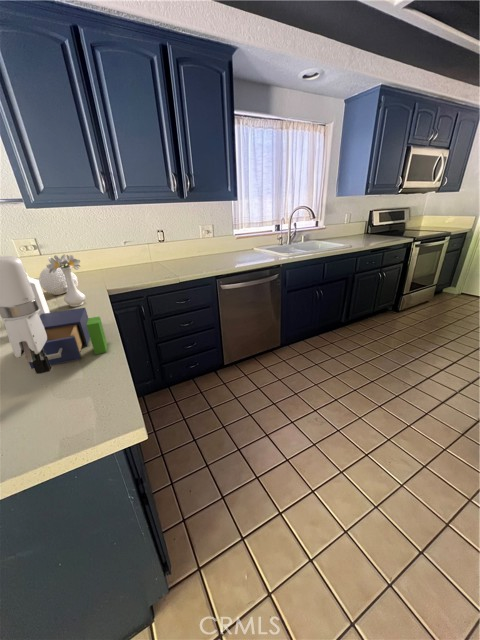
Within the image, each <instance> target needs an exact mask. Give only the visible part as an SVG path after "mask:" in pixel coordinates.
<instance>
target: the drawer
mask: <svg viewBox="0 0 480 640" xmlns="http://www.w3.org/2000/svg"><path fill="white" fill-rule="evenodd" d="M45 331H46V334H47V341H46V343H45V344H44V347H45V351H46V356H47V357H48V360H49V363H50V365H51V366H54V365H58V364H64V363H69V362H73V361H78V360H79V361H80V360H82V355H81V350H82V348H83V347H82V344H83V338H82V335H81V332H80V328H79V325H78V324H75V325H69V326H63V327H57V328H51V329H45ZM28 364H29V367H30V369H31V370H35V369H34V367H33V365H32V362H28Z"/></svg>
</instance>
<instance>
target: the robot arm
mask: <svg viewBox="0 0 480 640" xmlns="http://www.w3.org/2000/svg"><path fill="white" fill-rule="evenodd" d="M26 273H27V272H26V269H25V266H24V264H23V261H22V260H21V259H20V258H19V257H18V256H13V255H3V256H2V255H0V318H1V320H2V321H3V322H4V327H5V330H6V334H7V338H8V341H9V343H10V346H11V349H12V352H13V354H14V356H15V358H17V359H19V358H21V357H22V356H23V355H24V357H25V360H26V362H27V363H29V362H32V365H33V367H34V369H33V370H34V372H35V374H36V375H40V374H44V373H49V372H51V369H52V365H50V363H49V360H48V357H47V356H46V351H45V347H44V344H45V343H46V341H47V334H46V331H45V328H44V326H43V323H42V321H41V319H40V317H39V315H38V312H39V311H40V310H39V307H38V304H37V301H36V299H35V296H34V293H33V291H32V288H31V285H30V282H29V280H28V277H29V276H28V277H27V274H28V273H27V274H26Z"/></svg>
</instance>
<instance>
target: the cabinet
mask: <svg viewBox="0 0 480 640" xmlns="http://www.w3.org/2000/svg"><path fill="white" fill-rule="evenodd" d="M39 317H40V319H41V321H42V323H43V326H44V328H45V329H51V328H57V327H63V326H69V325H75V324H78V325H79V328H80V332H81V335H82V338H83V344H82V347H81V348H84V347H88V345H89V341H90V335H89V332H88V329H87V322H88V318H89V316H88V312H87V309H86V307H79V308H73V309H71V308H70V309H65V310H57V311H51V312H50V313H44V314H41V315H40V316H39Z"/></svg>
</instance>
